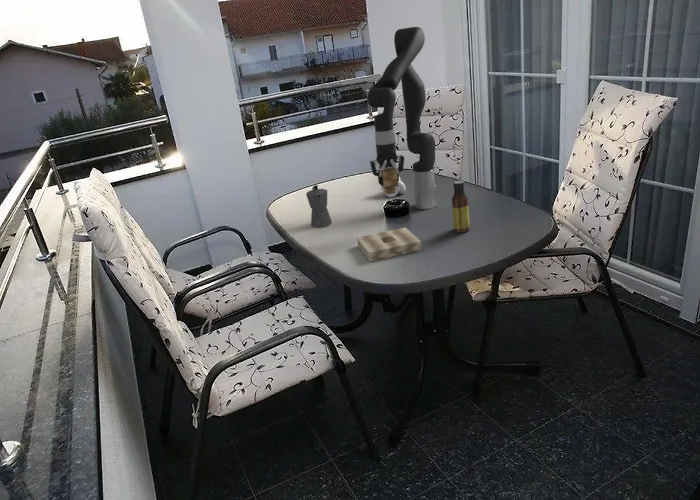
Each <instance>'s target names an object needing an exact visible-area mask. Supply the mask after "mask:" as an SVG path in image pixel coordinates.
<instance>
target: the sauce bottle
mask: <svg viewBox="0 0 700 500" xmlns="http://www.w3.org/2000/svg"><path fill="white" fill-rule="evenodd" d="M452 184H453V189H454V190H453V195H452V197H451V203H452V204H451V209H452V220H453V221H452V222H453V228H454V229H453V230H454V231H455V232H456V233H466V232H469V231H470V226H471V224H470V210H469V208H470V207H469V206H470V205H469V201H468V196H467V195H466V193H465V181H464V180H455V181H453V183H452Z"/></svg>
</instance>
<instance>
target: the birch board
mask: <svg viewBox="0 0 700 500" xmlns="http://www.w3.org/2000/svg"><path fill="white" fill-rule="evenodd" d="M356 241H357V246H358V248H359V249H360V250H361V252H362V253H363V254H364V256H365V257H366V258H367V260H368V261H369V262H374V261H379V260H382V259H388V258H392V257H397V256H400V255H401V256H402V255H405V254H410V253H414V252H420V251H422V241H421V240H420V239H419V238H418V237H417V236H416V235H414V234H413V232H411V231H410V230H409V229H408V228H407V227H406V226H405V227H401V228H396V229H391V230H387V231H386V230H385V231H382V232H378V233H373V234H368V235H363V236H359V237H356Z"/></svg>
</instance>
